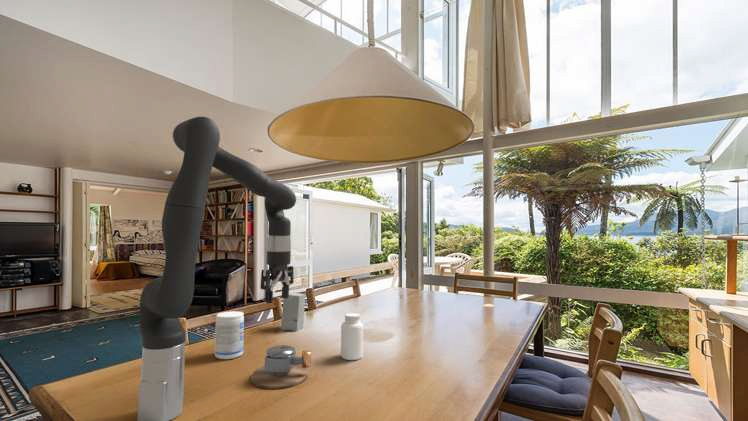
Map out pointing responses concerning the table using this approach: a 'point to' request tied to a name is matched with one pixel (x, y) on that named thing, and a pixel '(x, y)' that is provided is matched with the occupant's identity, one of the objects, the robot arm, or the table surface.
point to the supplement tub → (229, 335)
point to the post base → (279, 378)
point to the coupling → (285, 359)
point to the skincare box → (293, 312)
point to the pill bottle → (352, 337)
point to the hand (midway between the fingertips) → (277, 300)
